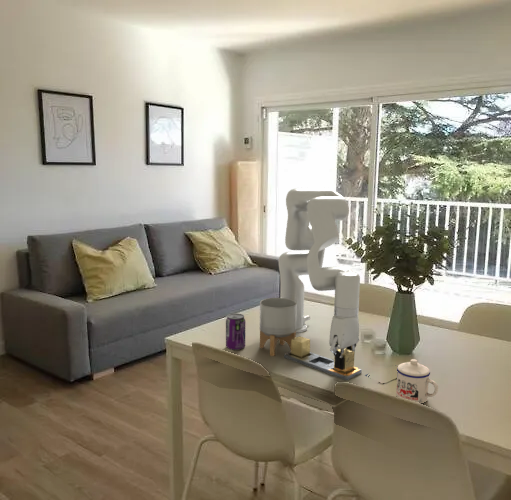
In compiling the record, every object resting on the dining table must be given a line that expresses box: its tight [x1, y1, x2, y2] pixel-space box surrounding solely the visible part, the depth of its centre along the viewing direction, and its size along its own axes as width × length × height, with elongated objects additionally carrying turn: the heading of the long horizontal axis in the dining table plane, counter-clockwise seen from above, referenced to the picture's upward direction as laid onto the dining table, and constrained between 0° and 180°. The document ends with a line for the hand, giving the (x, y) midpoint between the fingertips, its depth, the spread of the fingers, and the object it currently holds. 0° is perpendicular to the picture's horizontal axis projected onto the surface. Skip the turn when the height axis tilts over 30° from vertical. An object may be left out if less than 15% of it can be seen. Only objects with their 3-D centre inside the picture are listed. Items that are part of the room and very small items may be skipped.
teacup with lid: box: [395, 358, 439, 404], centre depth 145 cm, size 12×9×12 cm
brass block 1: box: [290, 335, 311, 359], centre depth 175 cm, size 4×4×6 cm
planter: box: [259, 297, 297, 357], centre depth 181 cm, size 13×13×18 cm
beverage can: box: [225, 313, 246, 351], centre depth 184 cm, size 7×7×12 cm
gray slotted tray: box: [283, 350, 362, 381], centre depth 169 cm, size 8×26×2 cm, turn 45°
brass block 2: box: [333, 348, 356, 374], centre depth 163 cm, size 4×4×6 cm
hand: (343, 365), depth 163 cm, fingers closed on brass block 2, 4 cm apart
